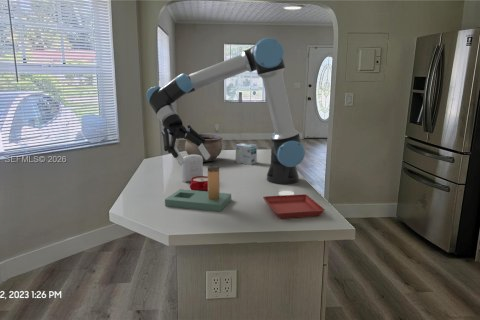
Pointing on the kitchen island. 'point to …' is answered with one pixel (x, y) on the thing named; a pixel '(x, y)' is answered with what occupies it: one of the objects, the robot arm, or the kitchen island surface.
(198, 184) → the alarm clock
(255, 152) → the light bulb box
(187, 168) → the photo printer
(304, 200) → the plant saucer
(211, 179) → the plug
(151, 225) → the kitchen island surface
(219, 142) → the ceramic bowl
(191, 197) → the socket board
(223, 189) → the kitchen island surface
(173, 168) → the kitchen island surface
